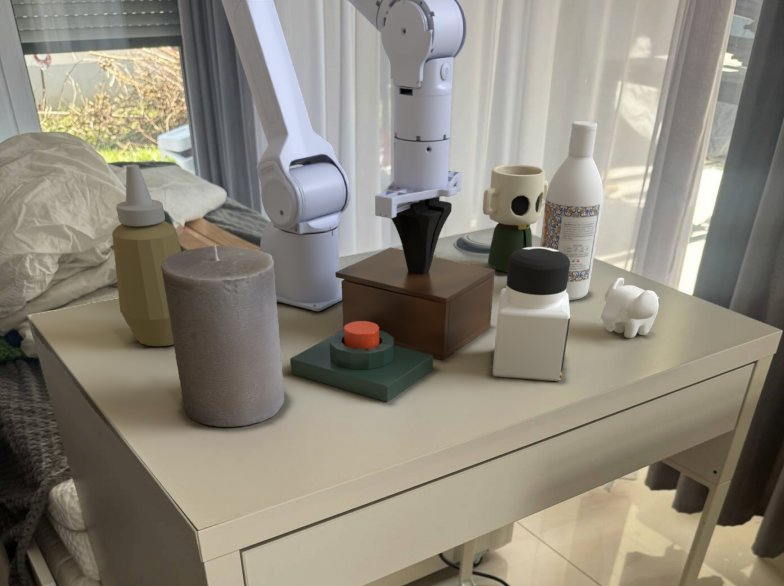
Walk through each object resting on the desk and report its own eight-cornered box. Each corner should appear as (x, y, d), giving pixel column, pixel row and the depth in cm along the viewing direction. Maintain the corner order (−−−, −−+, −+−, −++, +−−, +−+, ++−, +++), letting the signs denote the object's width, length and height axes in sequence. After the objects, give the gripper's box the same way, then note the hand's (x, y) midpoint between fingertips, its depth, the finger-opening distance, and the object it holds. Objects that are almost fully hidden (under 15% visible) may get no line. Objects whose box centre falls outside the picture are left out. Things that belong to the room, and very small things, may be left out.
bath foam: (541, 281, 106) (562, 116, 94) (592, 288, 104) (619, 120, 92) (529, 297, 100) (548, 124, 88) (582, 304, 98) (609, 129, 86)
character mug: (494, 282, 105) (503, 179, 97) (463, 268, 110) (469, 168, 102) (554, 269, 110) (567, 170, 102) (522, 256, 114) (532, 160, 107)
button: (337, 345, 79) (336, 329, 78) (357, 334, 81) (357, 318, 80) (366, 353, 78) (366, 336, 76) (386, 341, 80) (386, 325, 79)
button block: (290, 373, 81) (288, 341, 79) (341, 345, 87) (339, 315, 85) (387, 402, 76) (387, 369, 74) (432, 370, 82) (434, 338, 80)
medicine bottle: (560, 382, 80) (578, 265, 73) (492, 377, 81) (502, 260, 74) (559, 355, 86) (575, 243, 78) (495, 350, 86) (505, 239, 79)
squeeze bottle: (112, 337, 88) (74, 165, 77) (173, 319, 92) (145, 154, 82) (152, 358, 83) (117, 178, 72) (214, 337, 88) (190, 166, 77)
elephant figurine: (581, 329, 92) (589, 279, 88) (632, 318, 95) (642, 269, 91) (620, 350, 87) (630, 298, 83) (672, 337, 90) (684, 287, 87)
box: (343, 334, 90) (341, 280, 86) (395, 305, 97) (395, 255, 94) (443, 360, 84) (446, 304, 80) (490, 327, 92) (494, 275, 88)
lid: (335, 277, 86) (335, 272, 86) (390, 252, 94) (390, 247, 94) (446, 304, 80) (446, 298, 80) (494, 274, 88) (495, 269, 88)
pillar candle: (167, 399, 76) (138, 241, 67) (256, 374, 80) (239, 224, 71) (213, 439, 69) (187, 271, 60) (305, 409, 74) (294, 249, 65)
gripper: (419, 152, 72) (415, 296, 80) (489, 131, 82) (479, 261, 90) (356, 144, 75) (359, 284, 83) (431, 124, 85) (427, 250, 93)
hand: (418, 271), depth 87 cm, fingers closed, pressing on lid
